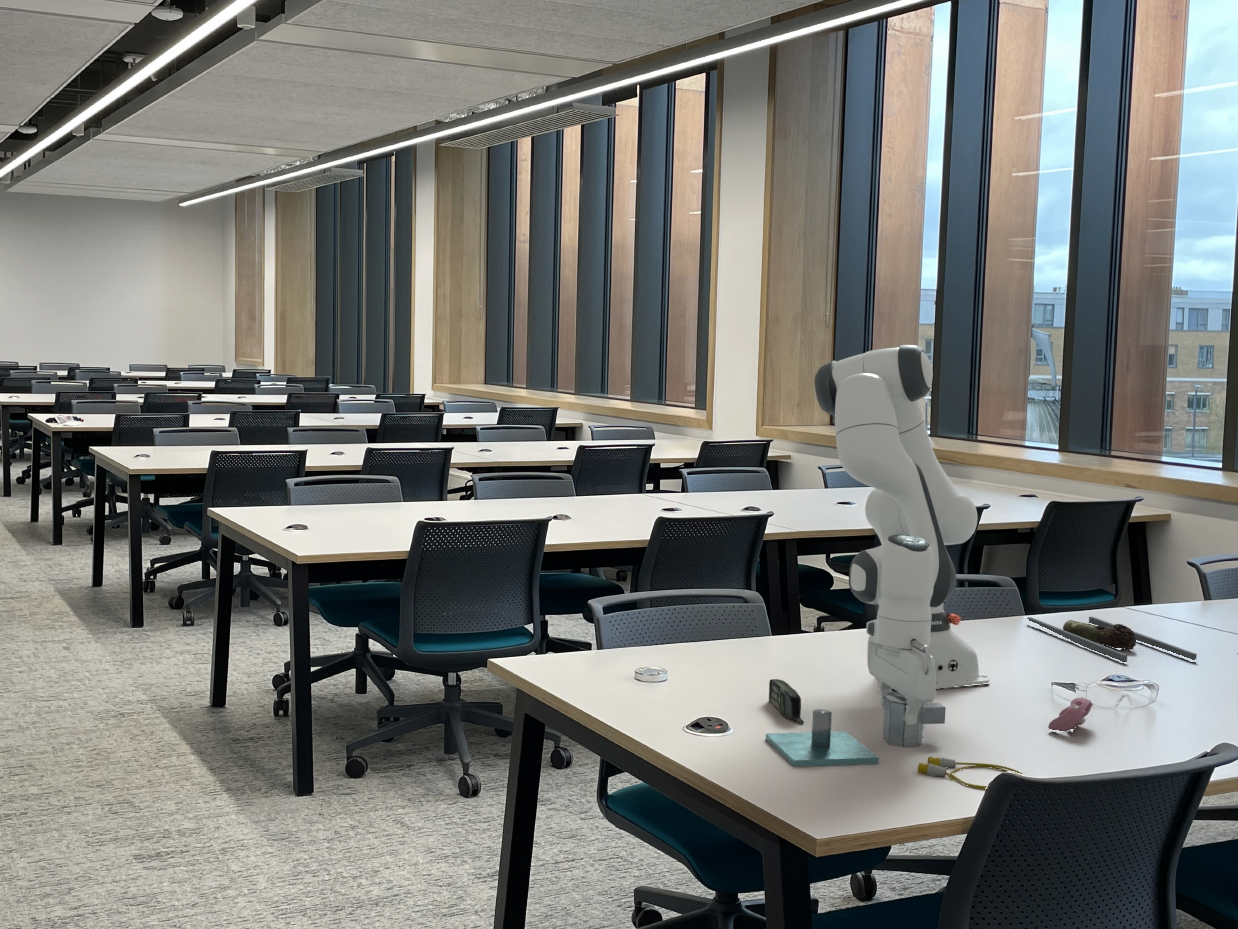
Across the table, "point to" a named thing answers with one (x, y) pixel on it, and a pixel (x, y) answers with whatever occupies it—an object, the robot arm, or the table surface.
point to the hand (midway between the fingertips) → (898, 715)
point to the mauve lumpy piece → (1072, 715)
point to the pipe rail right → (1148, 640)
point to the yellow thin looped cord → (938, 768)
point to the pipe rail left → (1083, 641)
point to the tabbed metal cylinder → (900, 730)
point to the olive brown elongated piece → (1103, 634)
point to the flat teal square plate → (821, 745)
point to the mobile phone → (785, 699)
